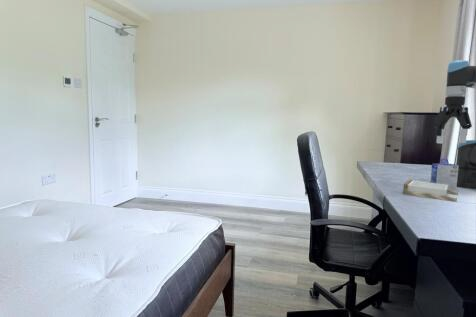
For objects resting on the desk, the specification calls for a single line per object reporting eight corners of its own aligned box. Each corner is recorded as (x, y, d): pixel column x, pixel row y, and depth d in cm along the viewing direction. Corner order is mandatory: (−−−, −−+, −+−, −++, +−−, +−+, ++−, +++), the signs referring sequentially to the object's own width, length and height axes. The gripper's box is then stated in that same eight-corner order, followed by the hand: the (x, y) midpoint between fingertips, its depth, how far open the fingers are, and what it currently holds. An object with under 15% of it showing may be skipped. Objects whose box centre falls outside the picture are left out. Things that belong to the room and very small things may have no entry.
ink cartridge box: (449, 188, 157) (452, 158, 155) (456, 191, 151) (460, 160, 149) (428, 188, 157) (432, 158, 155) (435, 190, 151) (438, 159, 150)
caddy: (447, 193, 145) (448, 184, 145) (445, 199, 134) (446, 189, 133) (411, 188, 153) (412, 180, 153) (406, 193, 142) (407, 185, 141)
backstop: (457, 194, 144) (459, 184, 143) (456, 201, 131) (458, 190, 130) (408, 188, 155) (409, 178, 155) (402, 193, 142) (403, 183, 141)
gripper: (440, 95, 140) (436, 144, 142) (484, 96, 147) (479, 143, 149) (426, 96, 147) (422, 142, 150) (468, 97, 154) (464, 142, 157)
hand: (451, 143), depth 150 cm, fingers open, 13 cm apart
